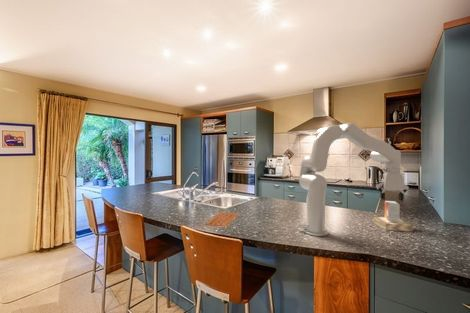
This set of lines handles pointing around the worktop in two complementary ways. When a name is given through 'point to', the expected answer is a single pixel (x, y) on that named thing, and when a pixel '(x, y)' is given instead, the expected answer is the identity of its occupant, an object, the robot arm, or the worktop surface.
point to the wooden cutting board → (222, 219)
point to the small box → (392, 211)
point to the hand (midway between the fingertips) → (391, 199)
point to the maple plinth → (393, 224)
